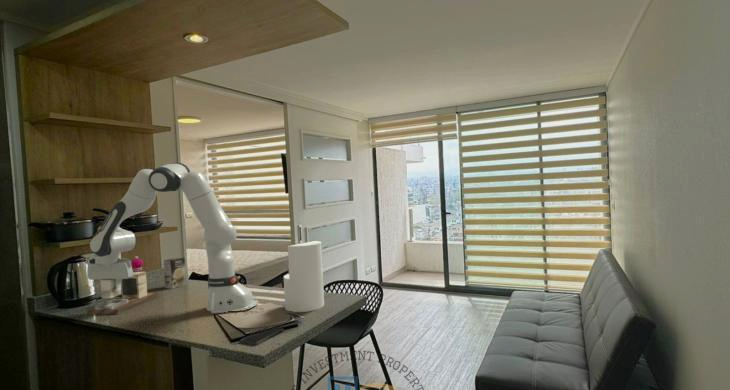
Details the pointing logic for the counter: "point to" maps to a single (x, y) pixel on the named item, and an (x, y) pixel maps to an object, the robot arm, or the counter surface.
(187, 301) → the counter surface
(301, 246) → the cylinder
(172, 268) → the coffee box
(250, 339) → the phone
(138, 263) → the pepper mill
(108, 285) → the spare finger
